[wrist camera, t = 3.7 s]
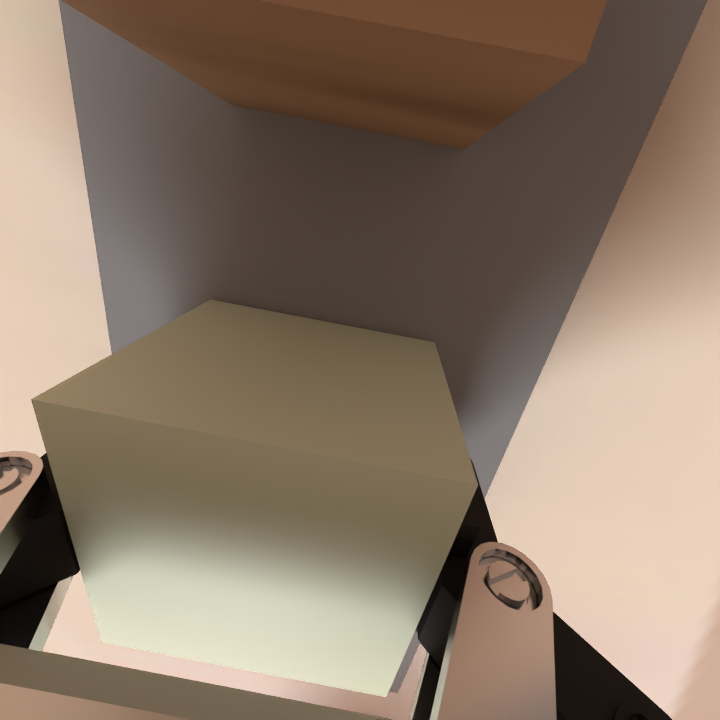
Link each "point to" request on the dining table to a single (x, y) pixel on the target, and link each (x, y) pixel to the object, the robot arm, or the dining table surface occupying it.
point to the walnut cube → (366, 56)
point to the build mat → (369, 209)
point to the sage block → (262, 492)
